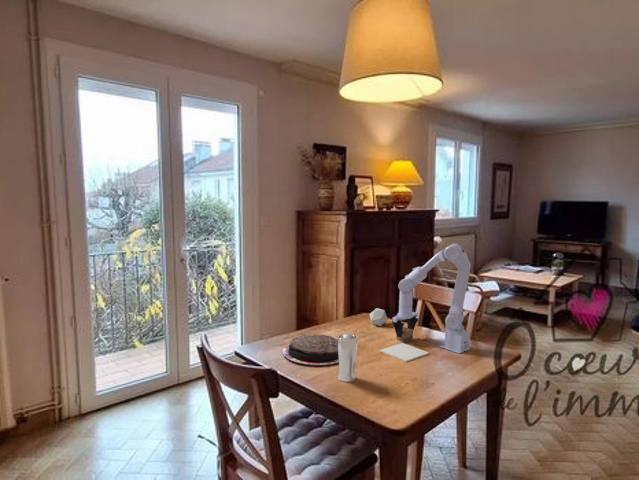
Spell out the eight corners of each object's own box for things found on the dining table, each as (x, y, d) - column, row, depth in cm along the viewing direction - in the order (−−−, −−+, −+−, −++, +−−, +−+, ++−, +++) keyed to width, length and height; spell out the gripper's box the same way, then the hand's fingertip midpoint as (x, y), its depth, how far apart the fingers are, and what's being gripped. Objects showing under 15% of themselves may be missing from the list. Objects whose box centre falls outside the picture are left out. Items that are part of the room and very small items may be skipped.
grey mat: (428, 353, 171) (428, 352, 170) (406, 362, 162) (406, 360, 162) (402, 344, 182) (402, 342, 181) (379, 351, 173) (379, 349, 173)
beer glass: (344, 372, 152) (345, 332, 150) (360, 377, 148) (361, 336, 146) (332, 378, 147) (333, 337, 145) (349, 384, 142) (349, 341, 141)
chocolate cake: (360, 348, 177) (361, 333, 177) (335, 373, 152) (335, 356, 151) (301, 338, 189) (301, 324, 188) (269, 360, 164) (269, 344, 163)
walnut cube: (412, 340, 187) (413, 329, 186) (405, 343, 183) (405, 331, 183) (404, 337, 190) (404, 326, 190) (396, 339, 187) (396, 329, 187)
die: (390, 326, 208) (387, 308, 213) (385, 322, 202) (381, 303, 206) (375, 330, 211) (372, 312, 216) (369, 326, 204) (366, 307, 209)
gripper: (409, 301, 193) (408, 329, 194) (387, 305, 184) (386, 335, 185) (421, 304, 187) (420, 333, 189) (400, 309, 178) (398, 340, 180)
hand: (404, 335), depth 187 cm, fingers open, 7 cm apart
